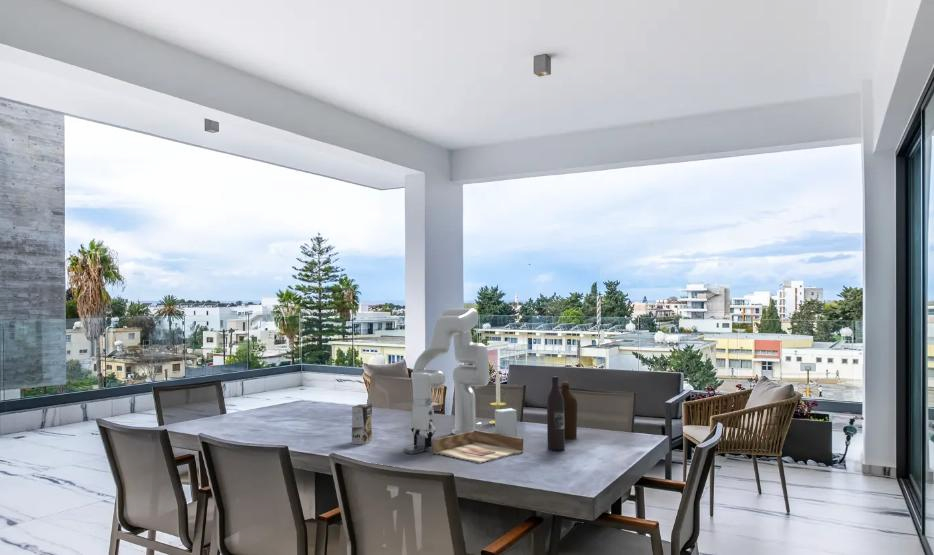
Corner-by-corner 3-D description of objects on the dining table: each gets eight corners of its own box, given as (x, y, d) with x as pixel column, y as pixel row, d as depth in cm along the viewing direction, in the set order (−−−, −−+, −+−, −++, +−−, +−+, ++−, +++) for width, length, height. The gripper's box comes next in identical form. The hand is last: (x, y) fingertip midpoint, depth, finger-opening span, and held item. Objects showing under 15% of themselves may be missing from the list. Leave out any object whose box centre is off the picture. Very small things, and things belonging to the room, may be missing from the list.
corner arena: (476, 443, 276) (476, 430, 277) (523, 452, 258) (523, 438, 259) (433, 453, 257) (433, 439, 258) (480, 463, 240) (480, 448, 240)
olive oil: (569, 434, 294) (569, 379, 295) (582, 438, 284) (581, 382, 286) (549, 436, 290) (549, 381, 291) (562, 440, 280) (561, 383, 282)
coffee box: (365, 444, 275) (365, 407, 275) (351, 444, 276) (351, 406, 277) (372, 440, 284) (372, 404, 284) (359, 440, 285) (359, 403, 286)
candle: (487, 424, 320) (486, 370, 321) (489, 421, 330) (489, 368, 331) (507, 424, 318) (506, 370, 320) (509, 421, 328) (508, 369, 330)
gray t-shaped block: (419, 448, 266) (419, 433, 266) (429, 450, 262) (429, 435, 262) (403, 452, 259) (403, 437, 259) (413, 454, 255) (412, 439, 255)
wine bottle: (554, 451, 258) (553, 377, 260) (544, 448, 265) (543, 376, 266) (568, 450, 262) (567, 376, 263) (558, 446, 268) (557, 375, 269)
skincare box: (512, 442, 278) (511, 407, 279) (517, 444, 272) (517, 409, 273) (494, 443, 275) (494, 409, 276) (499, 446, 269) (499, 411, 270)
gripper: (443, 403, 260) (443, 447, 260) (415, 399, 272) (415, 441, 272) (429, 405, 255) (430, 450, 254) (401, 401, 267) (402, 444, 266)
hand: (422, 445), depth 263 cm, fingers closed on gray t-shaped block, 6 cm apart
